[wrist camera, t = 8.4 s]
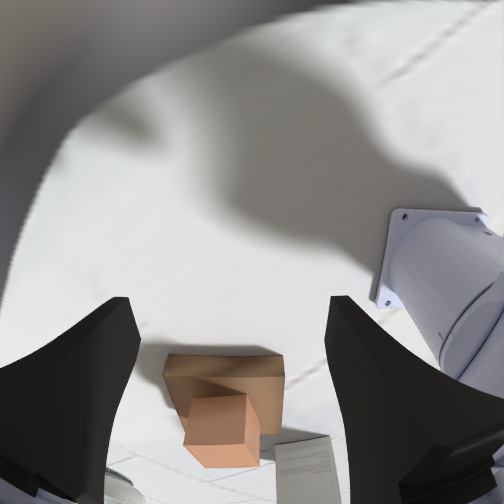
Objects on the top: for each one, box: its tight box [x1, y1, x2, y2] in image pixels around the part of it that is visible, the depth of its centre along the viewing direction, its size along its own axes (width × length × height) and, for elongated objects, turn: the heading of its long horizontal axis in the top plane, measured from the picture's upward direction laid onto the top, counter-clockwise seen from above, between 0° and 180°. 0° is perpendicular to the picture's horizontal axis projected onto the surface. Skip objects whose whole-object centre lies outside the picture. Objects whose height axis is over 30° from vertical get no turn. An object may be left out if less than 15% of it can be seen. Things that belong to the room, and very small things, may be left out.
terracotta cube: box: [183, 394, 260, 468], centre depth 22 cm, size 5×5×5 cm
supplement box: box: [275, 436, 342, 504], centre depth 27 cm, size 7×7×13 cm
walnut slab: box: [162, 354, 285, 435], centre depth 26 cm, size 10×10×3 cm
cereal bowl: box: [104, 471, 146, 504], centre depth 41 cm, size 17×17×7 cm
